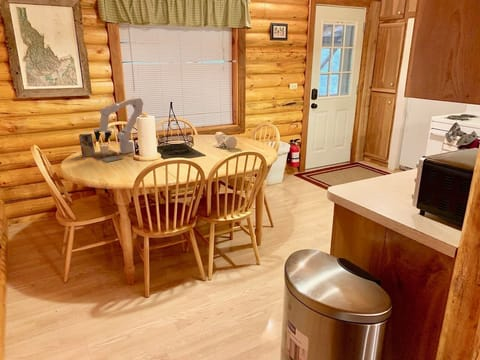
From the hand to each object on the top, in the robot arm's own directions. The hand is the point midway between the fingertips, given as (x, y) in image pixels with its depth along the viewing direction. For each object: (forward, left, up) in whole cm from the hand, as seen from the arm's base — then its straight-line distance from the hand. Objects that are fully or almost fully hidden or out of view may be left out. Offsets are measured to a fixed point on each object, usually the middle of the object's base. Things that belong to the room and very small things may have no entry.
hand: (101, 141), depth 275 cm
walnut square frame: (-1, 0, -11) cm, 11 cm away
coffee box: (+7, -11, -11) cm, 17 cm away
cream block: (-1, 0, -11) cm, 11 cm away
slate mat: (0, +13, -11) cm, 17 cm away
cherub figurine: (-83, +43, -11) cm, 94 cm away
